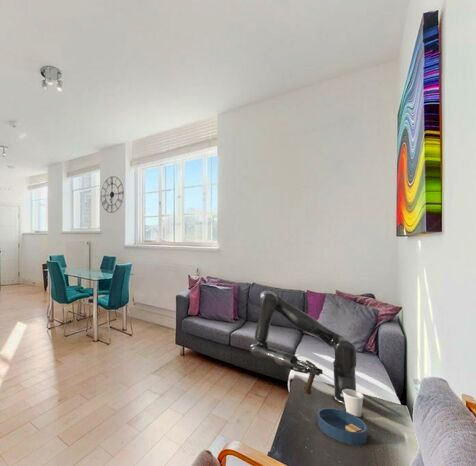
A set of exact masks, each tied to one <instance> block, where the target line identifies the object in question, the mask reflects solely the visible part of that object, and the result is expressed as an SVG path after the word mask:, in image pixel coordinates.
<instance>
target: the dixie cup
mask: <svg viewBox="0 0 476 466" xmlns="http://www.w3.org/2000/svg"><path fill="white" fill-rule="evenodd" d="M342 392H343V396H344V401H345V405H344V406H345V411H346V412H348V413H350V414H353V415H355V416H356V417H358V418H361V417H362V413H363V404H364V403H363V402H364V398H365V396H364V395H363V393H361V392H359V391H358V390H356V391H355V390H351V389H344V390H342Z"/></svg>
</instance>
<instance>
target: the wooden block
mask: <svg viewBox="0 0 476 466" xmlns="http://www.w3.org/2000/svg"><path fill="white" fill-rule="evenodd" d="M345 427H346V431H349V432H360V431H362V430H361V429H360V428H358V427H356V426H355V425H353V424H350V425H347V426H345Z"/></svg>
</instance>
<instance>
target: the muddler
mask: <svg viewBox="0 0 476 466" xmlns="http://www.w3.org/2000/svg"><path fill="white" fill-rule="evenodd" d="M314 365H315V364H314ZM314 365H313V366H312V369H315V370H317V368H318V366H316V365H315V366H314ZM315 377H316V375H315V374H312V373H309V374H308V378H307V381H306V385H305V386H303V387H302V391H303V393H304V394H306V395H310V396H311V395H312V392H313V391H312V386H313V383H314V380H315Z"/></svg>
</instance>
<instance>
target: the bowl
mask: <svg viewBox="0 0 476 466" xmlns="http://www.w3.org/2000/svg"><path fill="white" fill-rule="evenodd" d="M350 424H353V425H355V426H356V427H358V428H360V429H361V430H362V431H360V432H349V431H346V427H345V426H347V425H350ZM317 425H318V428H319V429H320V430H321V432H323V433H324V434H325V435H327V437H329V438H332V439H333V440H336V441H338V442H340V443H343V444H348V445H350V446H351V445H352V446H353V445H354V446H360V445H365V444H366V443H367V442H368V425H366V423H365V422H364V420H362V419H361V418H360V417H359V416H355V415H353V414H350V413H348V412H346V410H342V409H338V408H334V407H324V408H320V409H318V411H317Z"/></svg>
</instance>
